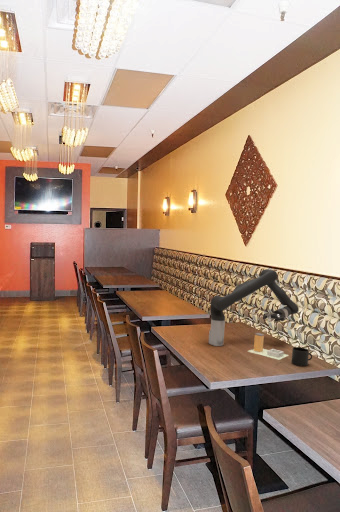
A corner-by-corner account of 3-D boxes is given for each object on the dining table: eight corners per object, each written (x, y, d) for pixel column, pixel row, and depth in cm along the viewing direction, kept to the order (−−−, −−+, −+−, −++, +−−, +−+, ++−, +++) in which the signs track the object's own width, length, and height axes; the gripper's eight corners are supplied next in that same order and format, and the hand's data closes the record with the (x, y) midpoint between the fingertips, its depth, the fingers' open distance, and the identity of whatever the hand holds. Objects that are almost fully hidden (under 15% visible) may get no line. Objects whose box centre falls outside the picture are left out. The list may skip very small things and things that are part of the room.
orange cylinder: (253, 350, 272) (254, 333, 272) (256, 349, 276) (257, 332, 275) (259, 352, 270) (261, 335, 269) (262, 350, 273) (264, 334, 272)
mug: (314, 367, 250) (315, 352, 250) (294, 366, 250) (295, 351, 249) (308, 361, 260) (309, 347, 259) (289, 361, 259) (290, 346, 259)
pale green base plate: (247, 353, 270) (247, 347, 270) (257, 349, 281) (258, 343, 280) (278, 362, 256) (279, 355, 256) (288, 357, 267) (289, 351, 266)
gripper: (271, 307, 296) (259, 311, 284) (290, 310, 287) (279, 315, 275) (271, 317, 297) (259, 322, 285) (289, 321, 288) (278, 326, 276)
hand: (269, 319), depth 280 cm, fingers open, 8 cm apart
